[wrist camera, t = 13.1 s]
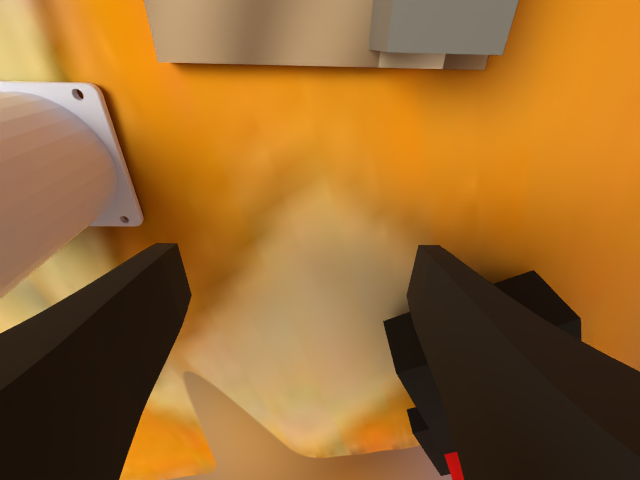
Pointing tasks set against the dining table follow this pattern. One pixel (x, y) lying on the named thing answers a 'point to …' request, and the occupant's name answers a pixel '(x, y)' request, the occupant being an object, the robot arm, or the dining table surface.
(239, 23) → the subfloor panel
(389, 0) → the block
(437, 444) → the red-and-black block model
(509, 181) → the dining table surface
